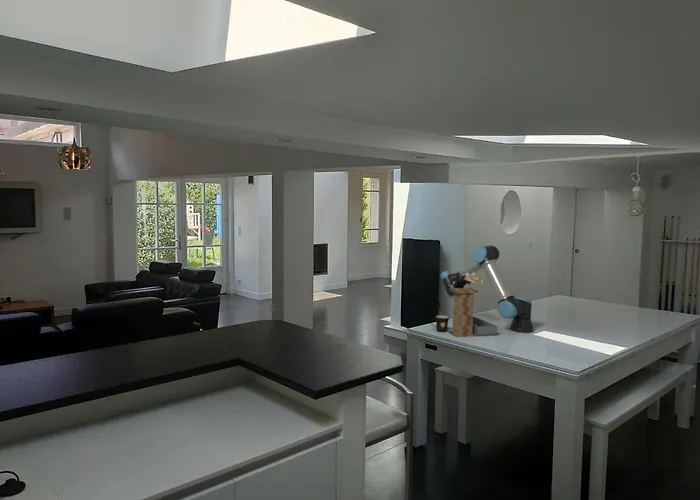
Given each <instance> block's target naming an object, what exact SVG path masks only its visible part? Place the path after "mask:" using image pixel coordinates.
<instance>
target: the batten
mask: <svg viewBox="0 0 700 500" xmlns="http://www.w3.org/2000/svg"><path fill="white" fill-rule="evenodd" d="M465 274H466V273H462V276H463V275H465ZM465 280H467V281H470V282H471V283H473V284H479V285H480V284H484V283H483V281H484V277H483V276H479V275H476V274H475V275H472V274H469V276H468V277H467V278H466V279H465Z"/></svg>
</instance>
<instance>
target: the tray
mask: <svg viewBox="0 0 700 500" xmlns="http://www.w3.org/2000/svg"><path fill="white" fill-rule="evenodd" d="M472 332H473V333H476V336H475V337H486V336H487V337H488V336H498V325H495V324H493V323H491V322H489V321H486V320H484V319H482V318H480V317H477V316H474V315H473V326H472Z"/></svg>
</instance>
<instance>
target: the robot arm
mask: <svg viewBox="0 0 700 500" xmlns="http://www.w3.org/2000/svg"><path fill="white" fill-rule="evenodd" d="M471 256H472V257H471V258H472V260H473V261H472V262H471V263H469V264H468V265H466V266H465V267H463V268H462V269H460V270H459V271H457V272H454V273H451V272H450V271H449V270H445V271H443V272H441V273H440V278H441V281H442V283H443V285H444V288H445V291H444V294H445V296H446V297H448V298H449V299H450V298H451V299H452V298H454V292H452V291H450V288H465V286H467V285H471V284H472V282H470V281H467V280H465V279H466V278H467V277H468V276H469V274H472V275H475V276H476V274H475V273H477V272H478V271H480V270H481V269H483V270H484V273H485V274H486V276H487V278H488V281H489V282H490V284H491V287H492V289H493V291H494V292H495V294H496V297H497V299H498V300H497V303H498V306H497V310H498V313H499V315H500V316H501V317H503V318H504V319H511V320H512V321H511V323H510V326H509V330H511V331H512V332H516V333H525V334H526V333H532V332H534V326H533V323H532V306H533V305H532V299H531V298H530V297H529V298H528V297H522V296H515V295H513V294H511V292H510V291H509V288H508V287H507V285H506V282H505V280H504V278H503V277H502V275H501V272H500V270H499V269H498V267H497V264H496V262H497V260H498V259H499V258H500V256H501V255H500V250H499V248H498V247H497V246H495V245H480V246H476V247H474V249H473V250H472V254H471ZM462 273H466V274H465V275H463V276H462Z"/></svg>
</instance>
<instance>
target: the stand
mask: <svg viewBox="0 0 700 500" xmlns="http://www.w3.org/2000/svg"><path fill="white" fill-rule="evenodd" d="M450 291H452V292H454V297H453V306H452V307H453V310H452V311H453V313H452V330H448V334H449V335H452V336H454V337H455V338H467V337H477V336H476V333H473V332H472V326H473V316H474V294H478V293H479V290H477V289H474V288H471V287H464V288H450Z"/></svg>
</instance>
